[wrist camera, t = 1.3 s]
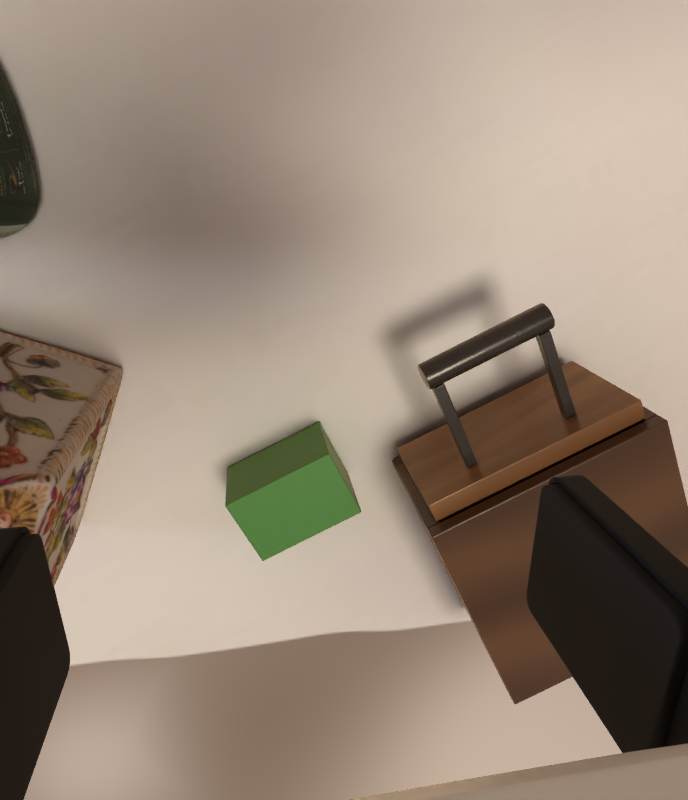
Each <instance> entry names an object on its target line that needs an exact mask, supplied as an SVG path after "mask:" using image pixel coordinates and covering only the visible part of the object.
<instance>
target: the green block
mask: <svg viewBox="0 0 688 800" xmlns="http://www.w3.org/2000/svg"><path fill="white" fill-rule="evenodd" d="M225 506H226V508H227V509H228V511H229V512H230V514H231V515H232V516H233V518H234V519H235V521H236V522H237V524H238V525H239V527H240V528H241V530H242V531H243V533H244V534H245V536H246V537H247V539H248V540H249V541H250V543H251V544H252V546H253V547H254V549H255V550H256V552H257V553H258V555H259V556H260V558H261V559H262V560H263V561H264V560H266V559H268V558H270V557H272V556H274V555H276V554H278V553H280V552H282V551H284V550H286V549H288V548H290V547H292V546H294V545H296V544H298V543H300V542H302V541H304V540H306V539H308V538H310V537H312V536H314V535H316V534H318V533H320V532H322V531H324V530H326V529H328V528H330V527H332V526H334V525H336V524H338V523H340V522H342V521H344V520H346V519H348V518H350V517H352V516H354V515H356V514H358V513H360V512H361V509H360V506H359V504H358V501H357V498H356V495H355V492H354V489H353V486H352V483H351V481H350V478H349V475H348V473H347V471H346V469H345V467H344V466H343V464H342V462H341V460H340V458H339V456H338V455H337V453H336V451H335V449H334V447H333V445H332V444H331V442H330V440H329V438H328V436H327V434H326V433H325V431H324V429H323V427H322V425H321V423H320V422H318V423H316V424H314V425H312V426H310V427H308V428H306V429H304V430H302V431H300V432H298V433H296V434H294V435H292V436H290V437H288V438H286V439H284V440H282V441H280V442H278V443H276V444H274V445H272V446H270V447H268V448H266V449H264V450H262V451H260V452H258V453H256V454H254V455H252V456H250V457H248V458H246V459H244V460H242V461H240V462H238V463H236V464H234V465H232V466H230V467H228V468H227V487H226V505H225Z"/></svg>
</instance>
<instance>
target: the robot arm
mask: <svg viewBox="0 0 688 800" xmlns="http://www.w3.org/2000/svg"><path fill="white" fill-rule="evenodd" d="M526 597H527V603H528V607H529V610H530V612H531V613H532V615H533V617H534V618H535V620H536V621H537V623H538V624H539V626H540V627H541V629H542V630H543V632H544V633H545V635H546V636H547V638H548V640H549V641H550V643H551V644H552V646H553V647H554V649H555V650H556V652H557V653H558V655H559V656H560V658H561V659H562V661H563V662H564V664H565V666H566V667H567V669H568V670H569V672H570V673H571V675H572V676H573V678H574V679H575V681H576V682H577V684H578V685H579V687H580V688H581V690H582V691H583V693H584V695H585V696H586V698H587V699H588V700H589V702H590V704H591V705H592V707H593V708H594V710H595V711H596V713H597V714H598V716H599V717H600V719H601V721H602V722H603V724H604V725H605V727H606V728H607V730H608V731H609V733H610V734H611V736H612V737H613V739H614V741H615V742H616V743H617V745H618V747H619V748H620V750H621V751H622V753H621V754H615V755H609V756H603V757H597V758H591V759H585V760H579V761H573V762H567V763H561V764H555V765H549V766H544V767H537V768H531V769H526V770H519V771H513V772H507V773H501V774H495V775H490V776H483V777H477V778H472V779H466V780H460V781H454V782H448V783H443V784H437V785H431V786H426V787H419V788H414V789H409V790H402V791H396V792H391V793H385V794H379V795H373V796H368V797H362V798H356V799H350V800H688V567H687V566H685V565H684V564H683V563H682V562H681V561H680V560H679V559H678V558H676V557H675V556H674V555H673V554H672V553H671V552H670V551H669V550H667V549H666V548H665V547H664V546H663V545H662V544H661V543H659V542H658V541H657V540H656V539H655V538H654V537H653V536H652V535H650V534H649V533H648V532H647V531H646V530H645V529H644V528H643V527H641V526H640V525H639V524H638V523H637V522H636V521H635V520H634V519H632V518H631V517H630V516H629V515H628V514H627V513H626V512H625V511H623V510H622V509H621V508H620V507H619V506H618V505H617V504H616V503H614V502H613V501H612V500H611V499H610V498H609V497H608V496H607V495H605V494H604V493H603V492H602V491H601V490H600V489H599V488H598V487H596V486H595V485H594V484H593V483H592V482H591V481H590V480H589V479H587V478H586V477H585V476H583V475H570V476H560V477H553V478H551V480H550V481H549V483H548V485H545V486H543V488H542V490H541V494H540V501H539V508H538V515H537V522H536V529H535V536H534V543H533V550H532V557H531V565H530V572H529V579H528V586H527V594H526ZM69 665H70V652H69V647H68V642H67V638H66V634H65V630H64V626H63V622H62V618H61V614H60V610H59V606H58V602H57V598H56V594H55V590H54V586H53V582H52V577H51V573H50V569H49V565H48V561H47V557H46V553H45V549H44V545H43V541H42V538H41V536H40V535H39V534H31V532H30V531H29V529H28V528H27V527H25V526H22V527H11V528H0V800H23V799H24V796H25V793H26V790H27V788H28V785H29V782H30V779H31V776H32V774H33V771H34V768H35V765H36V762H37V759H38V756H39V754H40V751H41V748H42V745H43V742H44V740H45V737H46V734H47V731H48V728H49V725H50V723H51V720H52V717H53V714H54V711H55V708H56V706H57V702H58V700H59V697H60V694H61V691H62V689H63V686H64V683H65V680H66V677H67V674H68V671H69Z"/></svg>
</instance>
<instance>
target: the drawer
mask: <svg viewBox="0 0 688 800" xmlns="http://www.w3.org/2000/svg"><path fill="white" fill-rule="evenodd" d="M554 325H555V322H554V318H553V315H552V313H551V311H550V310H549V309H548V307H547V306H546V305H545V304H543V303H540V304H538V305H536V306H534V307H532V308H530V309H528V310H526V311H524V312H522V313H520V314H518V315H516V316H514V317H512V318H510V319H508V320H506V321H504V322H502V323H500V324H498V325H496V326H494V327H492V328H490V329H488V330H486V331H484V332H482V333H480V334H478V335H476V336H475V337H473V338H471V339H469V340H467V341H465V342H463V343H461V344H459V345H457V346H455V347H453V348H451V349H449V350H447V351H445V352H443V353H441V354H439V355H437V356H435V357H433V358H431V359H429V360H427V361H425V362H423V363H421V364H419V365H418V370H419V372H420V375H421V377H422V379H423V381H424V382H425V384H426V386H427V387H428V388H429V389H432V390H433V392H434V394H435V397H436V399H437V401H438V404H439V406H440V408H441V411H442V413H443V415H444V418H445V420H446V422H447V424H445V425H443V426H441V427H439V428H437V429H435V430H433V431H431V432H429V433H427V434H425V435H423V436H421V437H419V438H417V439H415V440H413V441H411V442H409V443H407V444H405V445H403V446H401V447H399V448H397V451H398V453H399V455H400V457H401V459H402V461H403V463H404V465H405V467H406V468H407V470H408V472H409V474H410V476H411V477H412V479H413V481H414V483H415V485H416V486H417V488H418V490H419V492H420V494H421V496H422V497H423V499H424V501H425V503H426V505H427V506H428V508H429V510H430V512H431V514H432V515H433V517H434V519H435V521H436V522H437V521H439V520H441V519H443V521H445V520H447V519H449V518H451V517H453V516H455V515H457V514H459V513H461V512H463V511H465V510H467V509H469V508H471V507H473V506H475V505H477V504H479V503H481V502H483V501H485V500H487V499H489V498H491V497H493V496H495V495H497V494H499V493H501V492H503V491H505V490H507V489H509V488H511V487H513V486H515V485H517V484H519V483H521V482H523V481H525V480H527V479H529V478H531V477H533V476H535V475H537V474H539V473H541V472H544V471H546V470H548V469H550V468H552V467H554V466H556V465H558V464H560V463H562V462H564V461H566V460H568V459H570V458H572V457H574V456H576V455H578V454H580V453H582V452H584V451H586V450H588V449H590V448H592V447H594V446H596V445H598V444H600V443H602V442H604V441H606V440H608V439H610V438H612V437H614V436H616V435H618V434H620V433H622V432H621V430H623V429H625V428H627V427H629V426H631V425H633V424H635V423H637V422H639V421H641V420H643V419H645V414H644V410H643V407H642V403H641V400H639V399H638V398H636V397H634V396H632V395H631V394H629V393H627V392H625V391H624V390H622V389H620V388H618V387H617V386H615V385H613V384H611V383H610V382H608V381H606V380H604V379H603V378H601V377H599V376H597V375H596V374H594V373H592V372H590V371H589V370H587V369H585V368H583V367H582V366H580V365H578V364H576V363H575V362H573V361H571V362H569V363H567V364H565V365H563V366H561V364H560V361H559V358H558V354H557V351H556V348H555V345H554V342H553V339H552V335H551V332H550V331H549V330H550V329H552V328H553V327H554ZM534 337H536V339H537V342H538V345H539V348H540V351H541V354H542V357H543V360H544V363H545V366H546V369H547V372H548V373H547V374H545V375H543V376H541V377H539V378H537V379H535V380H533V381H531V382H529V383H527V384H525V385H523V386H521V387H519V388H517V389H515V390H513V391H511V392H509V393H507V394H505V395H503V396H501V397H499V398H497V399H495V400H493V401H491V402H489V403H487V404H485V405H483V406H481V407H479V408H477V409H475V410H473V411H471V412H469V413H467V414H465V415H463V416H461V417H459V418H458V415H457V413H456V411H455V408H454V406H453V404H452V401H451V399H450V396H449V394H448V392H447V389H446V387H445V385H444V382H446V381H448V380H450V379H452V378H454V377H456V376H458V375H460V374H462V373H464V372H466V371H468V370H470V369H472V368H474V367H476V366H478V365H480V364H482V363H484V362H486V361H488V360H490V359H492V358H494V357H496V356H498V355H500V354H502V353H504V352H506V351H508V350H510V349H512V348H514V347H516V346H518V345H520V344H522V343H524V342H526V341H528V340H530V339H532V338H534Z"/></svg>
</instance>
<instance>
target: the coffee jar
mask: <svg viewBox="0 0 688 800" xmlns="http://www.w3.org/2000/svg"><path fill="white" fill-rule="evenodd" d="M37 203H38V183H37V176H36V170H35V166H34V162H33V156H32V152H31V148H30V144H29V141H28V138H27V134H26V131H25V128H24V125H23V121H22V118H21V115H20V113H19V110H18V106H17V104H16V101H15V99H14V96H13V94H12V92H11V89H10V87H9V84H8V82H7V80H6V77H5V75H4V73H3V71H2V69H1V67H0V239H1V238H4V237H7V236H10V235H12V234H14V233H16V232H18V231H19V230H21V229H22V228H24V227H25V226H26V225H27V224H28V223H29V222H30V220H31V219H32V217H33V215H34V213H35V211H36V208H37Z"/></svg>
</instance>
